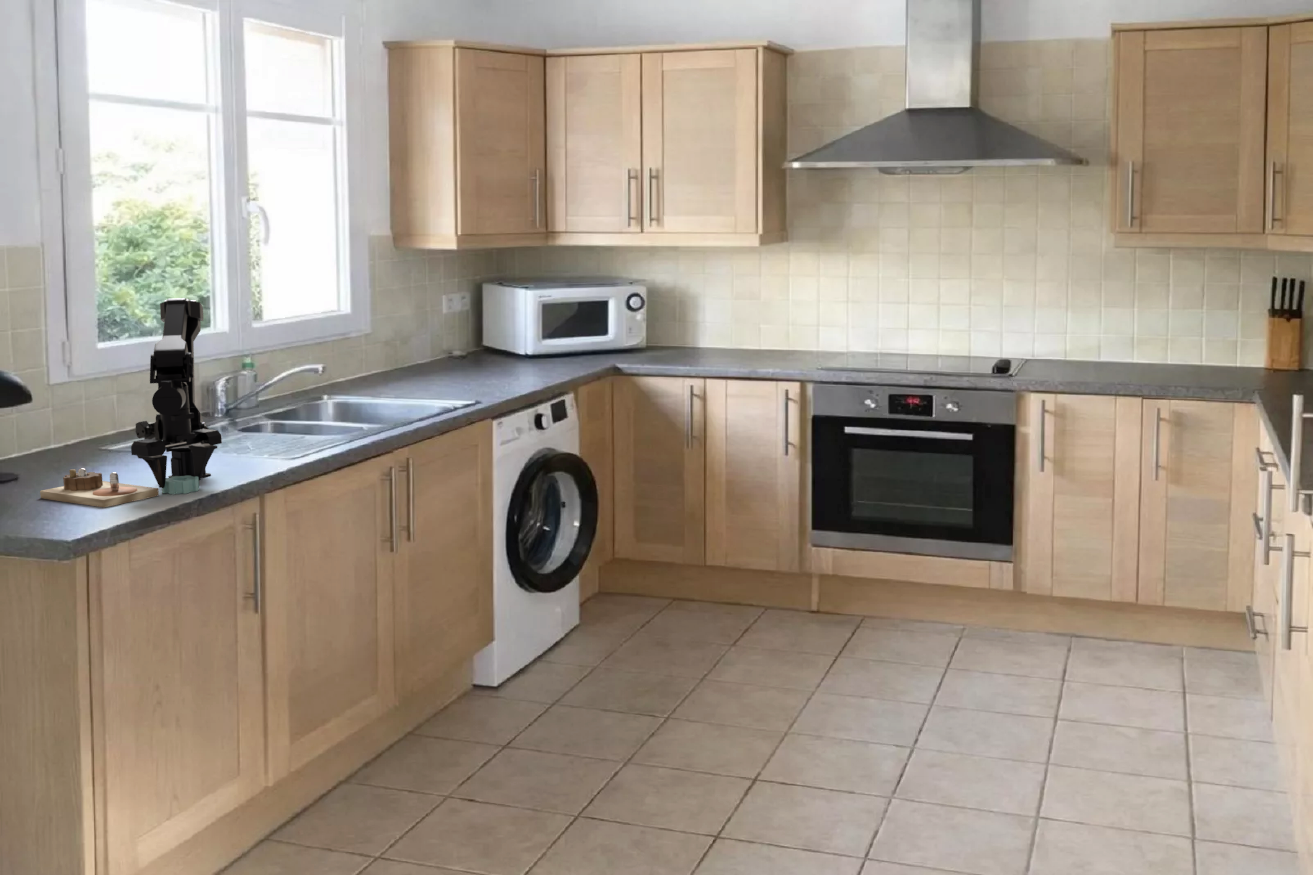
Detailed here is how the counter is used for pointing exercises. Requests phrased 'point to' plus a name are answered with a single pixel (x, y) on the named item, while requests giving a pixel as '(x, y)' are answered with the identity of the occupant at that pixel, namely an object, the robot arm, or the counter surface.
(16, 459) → the counter surface
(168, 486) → the loose gear
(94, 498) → the gear board
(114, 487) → the steel pegs
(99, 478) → the gear
